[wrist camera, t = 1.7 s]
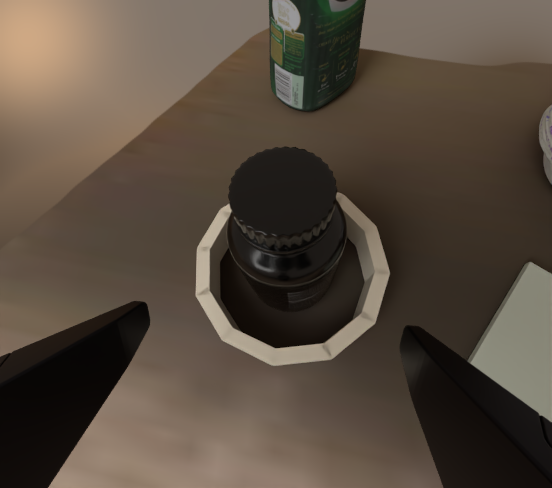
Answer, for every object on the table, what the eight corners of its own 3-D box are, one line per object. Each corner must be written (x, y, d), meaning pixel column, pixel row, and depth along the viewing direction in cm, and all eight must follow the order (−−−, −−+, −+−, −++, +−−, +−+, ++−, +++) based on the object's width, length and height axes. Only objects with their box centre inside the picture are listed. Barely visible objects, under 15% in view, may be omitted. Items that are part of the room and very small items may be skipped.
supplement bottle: (332, 239, 23) (366, 132, 12) (328, 318, 20) (366, 272, 9) (256, 232, 24) (223, 126, 13) (243, 307, 21) (186, 254, 10)
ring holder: (269, 405, 18) (265, 414, 15) (180, 257, 23) (165, 243, 21) (412, 288, 21) (430, 278, 18) (303, 177, 26) (304, 156, 23)
